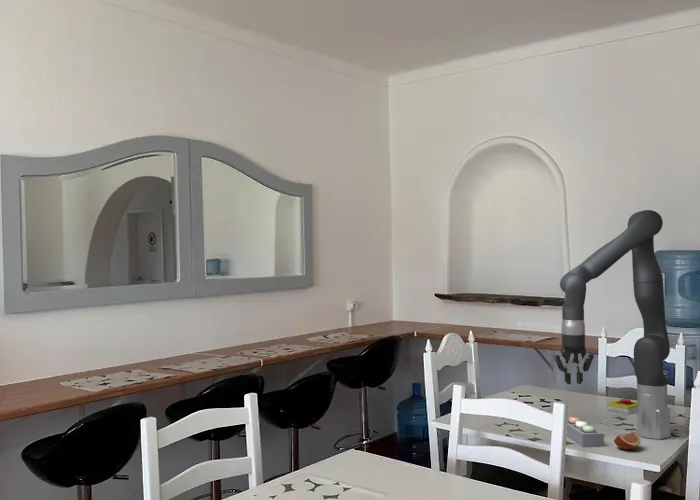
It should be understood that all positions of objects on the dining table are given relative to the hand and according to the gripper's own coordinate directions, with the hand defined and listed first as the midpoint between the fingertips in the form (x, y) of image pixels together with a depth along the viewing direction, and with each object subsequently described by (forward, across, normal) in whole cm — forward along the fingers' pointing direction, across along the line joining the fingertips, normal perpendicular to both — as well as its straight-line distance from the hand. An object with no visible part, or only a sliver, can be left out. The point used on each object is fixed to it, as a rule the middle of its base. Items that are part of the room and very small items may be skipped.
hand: (573, 383), depth 227 cm
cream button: (+14, 0, -6) cm, 15 cm away
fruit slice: (+17, +9, -18) cm, 27 cm away
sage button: (+14, 0, -11) cm, 18 cm away
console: (+17, 0, -6) cm, 18 cm away
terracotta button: (+14, 0, 0) cm, 14 cm away
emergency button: (+18, +33, +30) cm, 48 cm away
